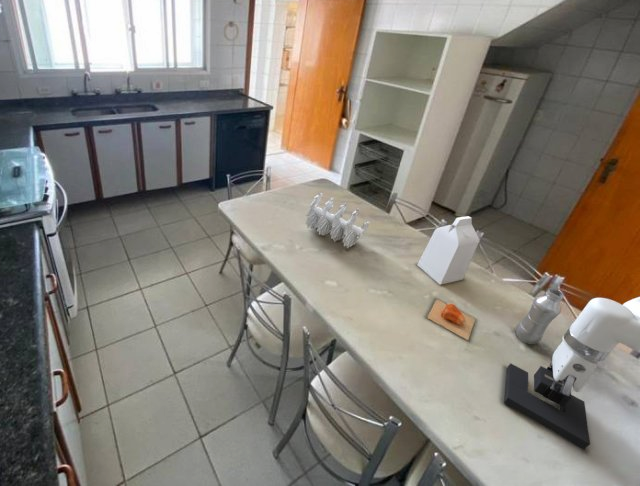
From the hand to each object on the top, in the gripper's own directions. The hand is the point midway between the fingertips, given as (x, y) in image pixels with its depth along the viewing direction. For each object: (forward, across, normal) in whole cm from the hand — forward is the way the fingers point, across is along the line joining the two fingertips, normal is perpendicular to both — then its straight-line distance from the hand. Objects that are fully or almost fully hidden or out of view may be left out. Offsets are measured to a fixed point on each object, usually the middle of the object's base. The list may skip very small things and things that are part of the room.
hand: (549, 388), depth 87 cm
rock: (+4, +13, +24) cm, 28 cm away
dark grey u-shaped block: (+4, -3, 0) cm, 5 cm away
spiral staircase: (+3, +28, +75) cm, 80 cm away
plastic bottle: (+4, +21, +4) cm, 22 cm away
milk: (+4, +37, +32) cm, 49 cm away
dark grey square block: (+1, 0, 0) cm, 1 cm away
